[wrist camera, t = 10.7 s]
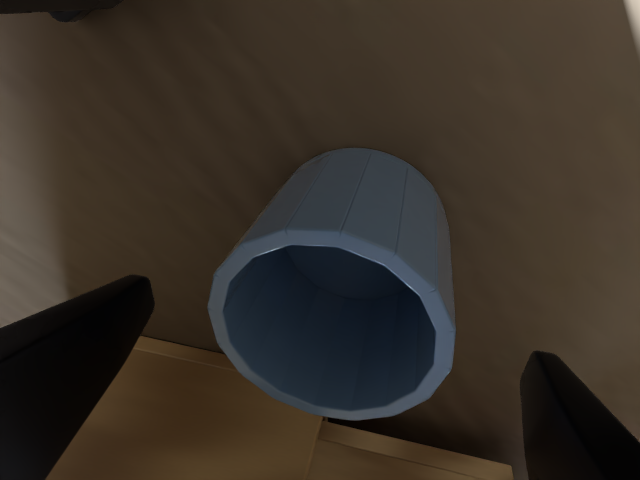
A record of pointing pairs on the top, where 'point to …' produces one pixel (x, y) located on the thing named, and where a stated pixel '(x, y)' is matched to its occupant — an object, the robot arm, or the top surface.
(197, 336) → the top surface
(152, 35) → the top surface
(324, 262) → the cup
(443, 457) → the drawer
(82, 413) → the robot arm
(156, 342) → the cabinet
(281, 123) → the top surface
